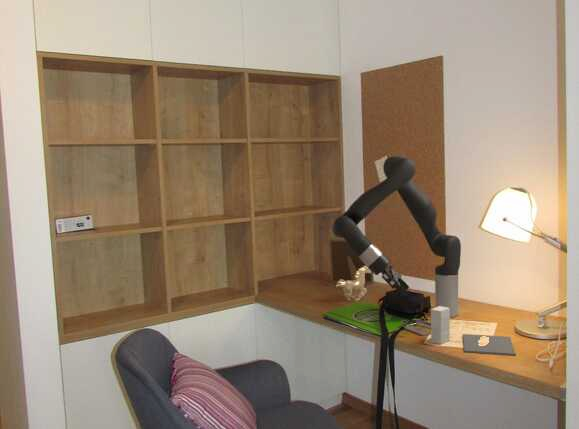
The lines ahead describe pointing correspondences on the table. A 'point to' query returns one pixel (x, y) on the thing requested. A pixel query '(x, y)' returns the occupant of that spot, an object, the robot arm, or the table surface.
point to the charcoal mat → (488, 345)
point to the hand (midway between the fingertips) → (406, 291)
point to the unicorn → (355, 283)
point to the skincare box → (440, 324)
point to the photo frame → (345, 261)
